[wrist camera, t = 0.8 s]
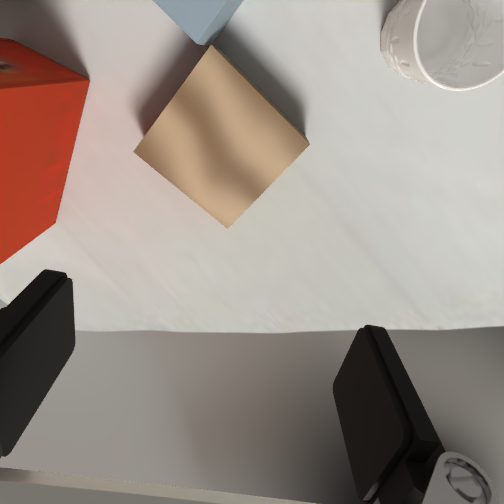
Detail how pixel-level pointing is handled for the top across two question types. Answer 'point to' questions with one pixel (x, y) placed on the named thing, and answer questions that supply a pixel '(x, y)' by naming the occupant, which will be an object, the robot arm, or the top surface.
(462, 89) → the white cup
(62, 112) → the file binder
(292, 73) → the top surface
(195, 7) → the block
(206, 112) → the pedestal
